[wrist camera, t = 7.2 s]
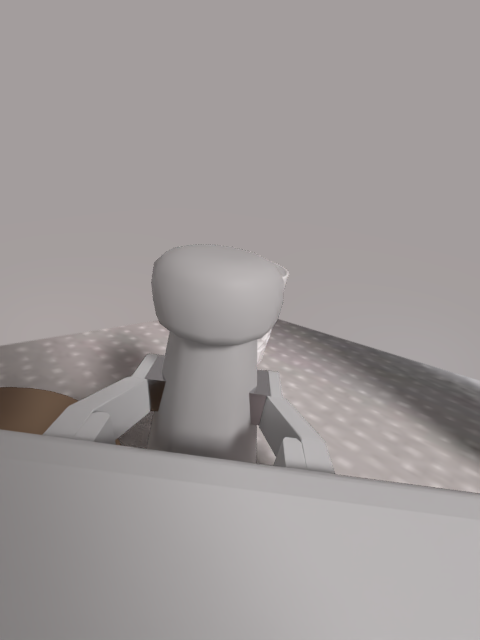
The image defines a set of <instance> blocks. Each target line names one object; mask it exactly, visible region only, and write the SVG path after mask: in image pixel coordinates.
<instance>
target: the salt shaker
mask: <svg viewBox="0 0 480 640" xmlns="http://www.w3.org/2000/svg"><path fill="white" fill-rule="evenodd" d="M151 283H152V292H153V301H154V306H155V311H156V315H157V317H158V320H159V322H160V324H162V325H163V326H164V327H165V328H167V329H168V330H169V331H170V333H169V338H168V343H167V348H166V353H165V358H164V363H163V368H162V374H163V376H164V378H165V379H166V383H165V387H164V391H163V395H162V399H161V403H160V406H159V410H158V411H154V413H153V418H152V423H151V428H150V433H149V438H148V443H147V448H146V449H151V450H158V451H166V452H173V453H181V454H188V455H196V456H203V457H211V458H218V459H226V460H233V461H241V462H248V463H256V442H257V425H253V424H251V418H250V403H249V392H250V391H251V390H252V389H254V388H255V387H256V386H257V339H261V338H263V336H264V335H265V334H266V333H267V332H268V331H269V330H270V329H271V328H272V327H273V326H274V324H275V323H276V321H277V320H278V317H279V314H280V310H281V307H282V304H283V294H284V280H283V278H282V276H281V274H280V272H279V270H278V269H277V267H276V266H275V264H274V263H273V262H271V261H270V260H268V259H266V258H264V257H262V256H260V255H258V254H256V253H253V252H250V251H246V250H243V249H238V248H233V247H227V246H219V245H202V244H201V245H199V244H198V245H187V246H181V247H176V248H173V249H171V250H169V251H167V252H165V253H164V254H163V255H162V256H161V257H160V258H159V259H157V260H156V261H155V262H154V267H153V274H152V282H151Z"/></svg>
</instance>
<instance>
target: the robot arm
mask: <svg viewBox="0 0 480 640" xmlns="http://www.w3.org/2000/svg"><path fill="white" fill-rule="evenodd" d="M164 358H165V356H164V355H157V354H150V353H149V354H147V355H146V356H145V358H144V359H143V361H142V362H141V364H140V365H139V366H138V368H137V369H136V371H135V372H134V373H133V375H132V376H131V377H126V378H124V379H122V380H120V381H118V382H116V383H114V384H112V385H110V386H108V387H106V388H104V389H102V390H100V391H98V392H96V393H94V394H92V395H90V396H88V397H86V398H84V399H82V400H80V401H78V402H76V403H74V404H72V405H70V406H68V407H67V408H66V409H65V410H64V412H63V413H62V414H61V415H60V416H59V417H58V418H57V419H56V420H55V421H54V422H53V424H52V425H51V426H50V427H49V428H48V429H47V430H46V431H45V432H44V433H43V434H42V435H39V434H31V433H24V432H16V431H9V430H1V429H0V640H480V493H473V492H466V491H458V490H450V489H443V488H435V487H428V486H420V485H413V484H406V483H398V482H391V481H383V480H376V479H368V478H361V477H353V476H346V475H338V474H335V472H334V468H333V465H332V462H331V459H330V455H329V452H328V449H327V445H326V442H325V441H324V440H323V439H322V437H321V436H320V435H319V434H318V433H317V432H316V431H315V430H314V429H313V427H312V426H311V425H310V424H309V423H308V422H307V421H306V420H305V419H304V417H303V416H302V415H301V414H300V413H299V412H298V411H297V410H296V409H295V408H294V406H293V405H292V404H291V403H290V402H289V401H288V400H287V399H285V398H283V393H282V387H281V381H280V375H279V372H278V371H270V370H268V371H267V370H260V369H257V386H256V387H255V388H254V389H252V390H251V391H250V392H249V403H250V418H251V424H253V425H259V428H260V429H261V431H262V433H263V435H264V436H265V438H266V440H267V442H268V444H269V445H270V447H271V449H272V451H273V452H274V454H275V456H276V460H275V462H274V465H273V466H271V465H263V464H256V463H248V462H241V461H233V460H226V459H218V458H211V457H203V456H196V455H188V454H181V453H173V452H166V451H158V450H151V449H144V448H136V447H129V446H121V445H116V442H115V440H116V439H117V438H119V437H120V436H121V435H122V434H124V433H125V432H126V431H127V430H128V429H130V428H131V427H132V426H133V425H134V424H136V423H137V422H138V421H139V420H141V419H142V418H143V417H144V416H145V415H147V414H148V413H149V412H150V411H158V410H159V406H160V403H161V399H162V395H163V391H164V387H165V383H166V379H165V378H164V376H163V374H162V368H163V363H164Z"/></svg>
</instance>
